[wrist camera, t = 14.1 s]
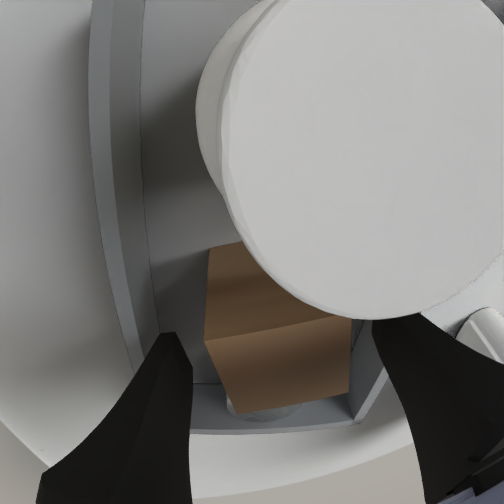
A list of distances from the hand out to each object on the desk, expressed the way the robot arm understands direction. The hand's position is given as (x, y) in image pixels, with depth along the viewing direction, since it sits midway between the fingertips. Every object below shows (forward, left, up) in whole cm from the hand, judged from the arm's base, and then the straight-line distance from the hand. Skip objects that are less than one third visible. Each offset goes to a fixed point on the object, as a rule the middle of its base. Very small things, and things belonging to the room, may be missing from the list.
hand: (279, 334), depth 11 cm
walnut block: (0, 0, -3) cm, 3 cm away
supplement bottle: (0, -8, -3) cm, 8 cm away
